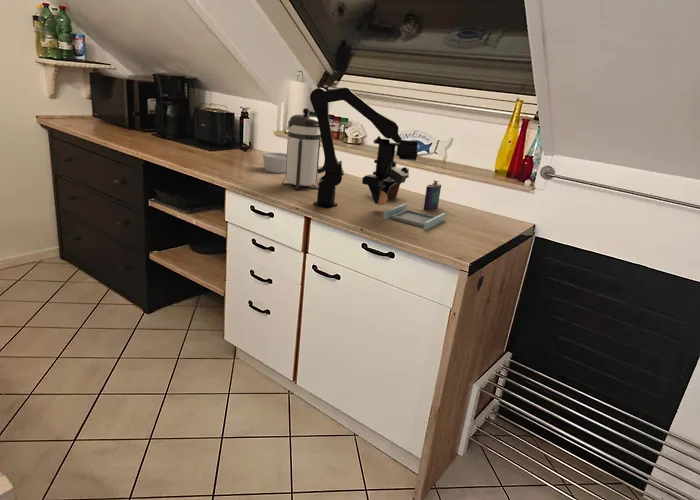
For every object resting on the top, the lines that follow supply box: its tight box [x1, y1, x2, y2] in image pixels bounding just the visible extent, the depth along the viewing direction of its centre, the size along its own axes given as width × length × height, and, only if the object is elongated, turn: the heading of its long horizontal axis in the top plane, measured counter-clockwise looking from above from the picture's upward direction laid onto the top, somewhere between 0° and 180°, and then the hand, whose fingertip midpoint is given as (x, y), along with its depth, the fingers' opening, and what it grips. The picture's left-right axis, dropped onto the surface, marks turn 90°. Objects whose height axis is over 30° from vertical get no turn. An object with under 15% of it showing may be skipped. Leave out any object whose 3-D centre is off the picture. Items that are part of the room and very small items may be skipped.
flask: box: [423, 179, 442, 212], centre depth 183 cm, size 9×3×11 cm, turn 144°
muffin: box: [387, 181, 401, 200], centre depth 193 cm, size 12×11×10 cm
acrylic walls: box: [382, 203, 447, 231], centre depth 168 cm, size 16×16×2 cm
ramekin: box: [262, 151, 287, 174], centre depth 218 cm, size 13×13×7 cm
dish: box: [390, 208, 437, 228], centre depth 168 cm, size 12×12×1 cm
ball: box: [372, 191, 389, 206], centre depth 173 cm, size 5×5×5 cm
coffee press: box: [282, 107, 325, 191], centre depth 192 cm, size 17×16×30 cm
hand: (379, 202), depth 174 cm, fingers closed on ball, 5 cm apart
